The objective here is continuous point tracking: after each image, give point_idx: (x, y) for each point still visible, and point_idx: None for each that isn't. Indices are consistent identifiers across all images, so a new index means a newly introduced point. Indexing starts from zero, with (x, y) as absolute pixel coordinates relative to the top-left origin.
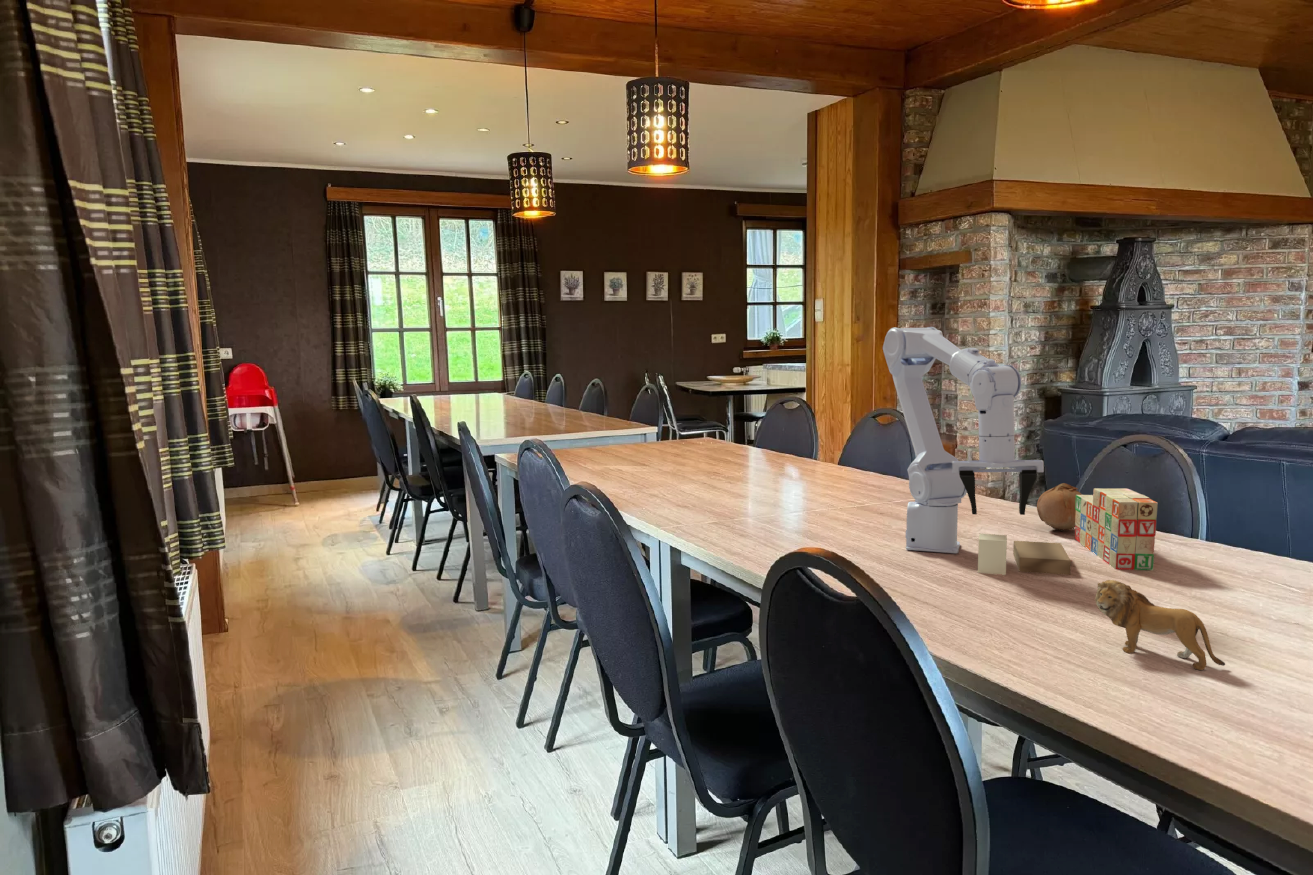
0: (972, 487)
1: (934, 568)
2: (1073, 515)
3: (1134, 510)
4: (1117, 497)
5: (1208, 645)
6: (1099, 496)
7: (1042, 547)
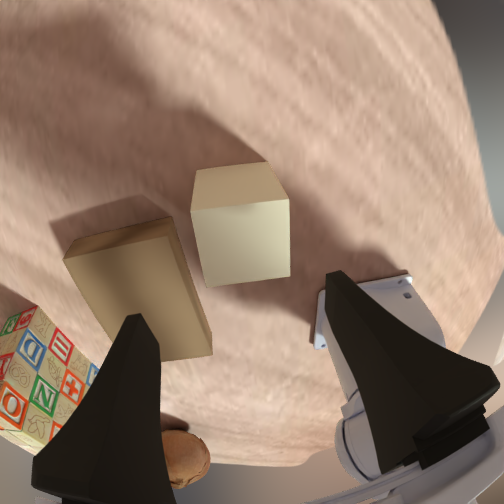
0: (410, 361)
1: (369, 162)
2: None
3: None
4: (21, 435)
5: None
6: None
7: None
